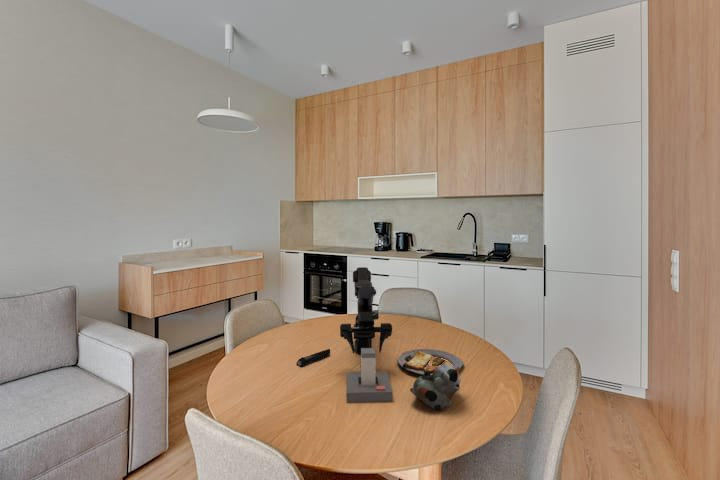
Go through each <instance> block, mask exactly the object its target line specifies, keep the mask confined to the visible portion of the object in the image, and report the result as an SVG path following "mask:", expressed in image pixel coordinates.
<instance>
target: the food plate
mask: <svg viewBox="0 0 720 480" xmlns="http://www.w3.org/2000/svg"><path fill="white" fill-rule="evenodd" d="M432 356H433V357H432ZM434 357H437V358H434ZM431 358H432V359H433V360H432V359H431ZM441 358H443V359H446V360H448V361H449V362H450V363H451V364H452V365H453V367H454V369H455V368H457V367H459V370H460V369H461V368H462V367H463V365H465V362H464V361H463V360H462V359H461V358H459V357H458V356H457V355H455V354H453V353H449V352H448V351H444V350H440V349H434V348H416V349H415V348H414V349H411V350H407V351H404V352H403V353H401V354H400V356H398V358H397V359H396V362H397V364H398V365H399V366H400V367H401V368H402V369H404V370H405V371H408V372H412V373H414V374H418V375H419V376H423V375H424V370H426V369H428V370H429V371H430V375H432V374H433V372H434V370H435V369H436V368H437V367H439V365H441V364H442V363H443V362H444V361H445V360H443V359H441ZM430 359H431V360H432V362H431V363H432V366H430V365H429V364H428V363H429V361H430ZM445 362H446V361H445ZM445 362H444V363H445ZM449 362H448V363H449ZM444 363H443V364H444ZM443 364H442V365H443ZM451 364H450V365H451Z"/></svg>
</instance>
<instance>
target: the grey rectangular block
mask: <svg viewBox="0 0 720 480" xmlns="http://www.w3.org/2000/svg"><path fill="white" fill-rule="evenodd" d="M375 349H376V348H375V347H372V348H361V355H360V372H361V386H376V372H377V371H376V368H377V367H376V365H377V364H376V361H377V359H376V357H377V355H376V350H375Z"/></svg>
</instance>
